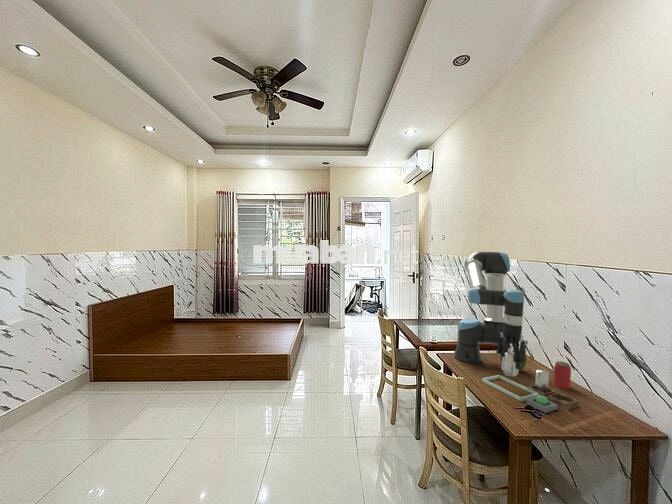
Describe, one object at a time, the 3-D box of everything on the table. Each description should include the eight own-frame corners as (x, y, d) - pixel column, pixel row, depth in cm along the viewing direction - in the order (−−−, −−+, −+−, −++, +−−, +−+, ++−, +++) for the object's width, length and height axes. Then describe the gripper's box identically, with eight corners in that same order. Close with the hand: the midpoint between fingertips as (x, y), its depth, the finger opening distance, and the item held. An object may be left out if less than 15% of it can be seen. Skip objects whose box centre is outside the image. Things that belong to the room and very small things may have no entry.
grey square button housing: (525, 405, 131) (526, 399, 131) (537, 402, 135) (538, 395, 135) (545, 415, 124) (545, 408, 124) (557, 411, 128) (557, 404, 127)
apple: (529, 374, 165) (530, 353, 165) (517, 375, 163) (518, 354, 162) (515, 368, 173) (517, 347, 173) (503, 369, 171) (504, 348, 171)
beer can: (572, 392, 146) (574, 366, 146) (557, 390, 148) (558, 365, 147) (565, 385, 153) (566, 361, 152) (550, 384, 154) (552, 360, 154)
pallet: (524, 393, 143) (524, 386, 143) (538, 389, 147) (538, 382, 147) (566, 413, 127) (567, 405, 127) (580, 408, 131) (581, 401, 131)
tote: (481, 383, 152) (481, 378, 152) (498, 379, 157) (499, 374, 157) (521, 404, 133) (521, 398, 133) (539, 399, 138) (540, 393, 138)
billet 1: (501, 372, 147) (502, 352, 146) (508, 371, 149) (509, 350, 148) (510, 377, 142) (512, 356, 141) (518, 375, 144) (519, 354, 144)
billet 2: (532, 391, 143) (533, 370, 142) (539, 389, 145) (540, 368, 144) (543, 396, 138) (544, 374, 138) (550, 394, 140) (551, 372, 140)
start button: (533, 402, 130) (534, 395, 130) (539, 401, 132) (540, 394, 132) (543, 407, 127) (543, 400, 127) (549, 405, 128) (549, 398, 128)
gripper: (490, 319, 151) (487, 365, 152) (526, 330, 134) (522, 382, 136) (500, 317, 154) (498, 363, 155) (537, 328, 137) (533, 379, 139)
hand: (509, 372), depth 145 cm, fingers closed on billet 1, 5 cm apart
